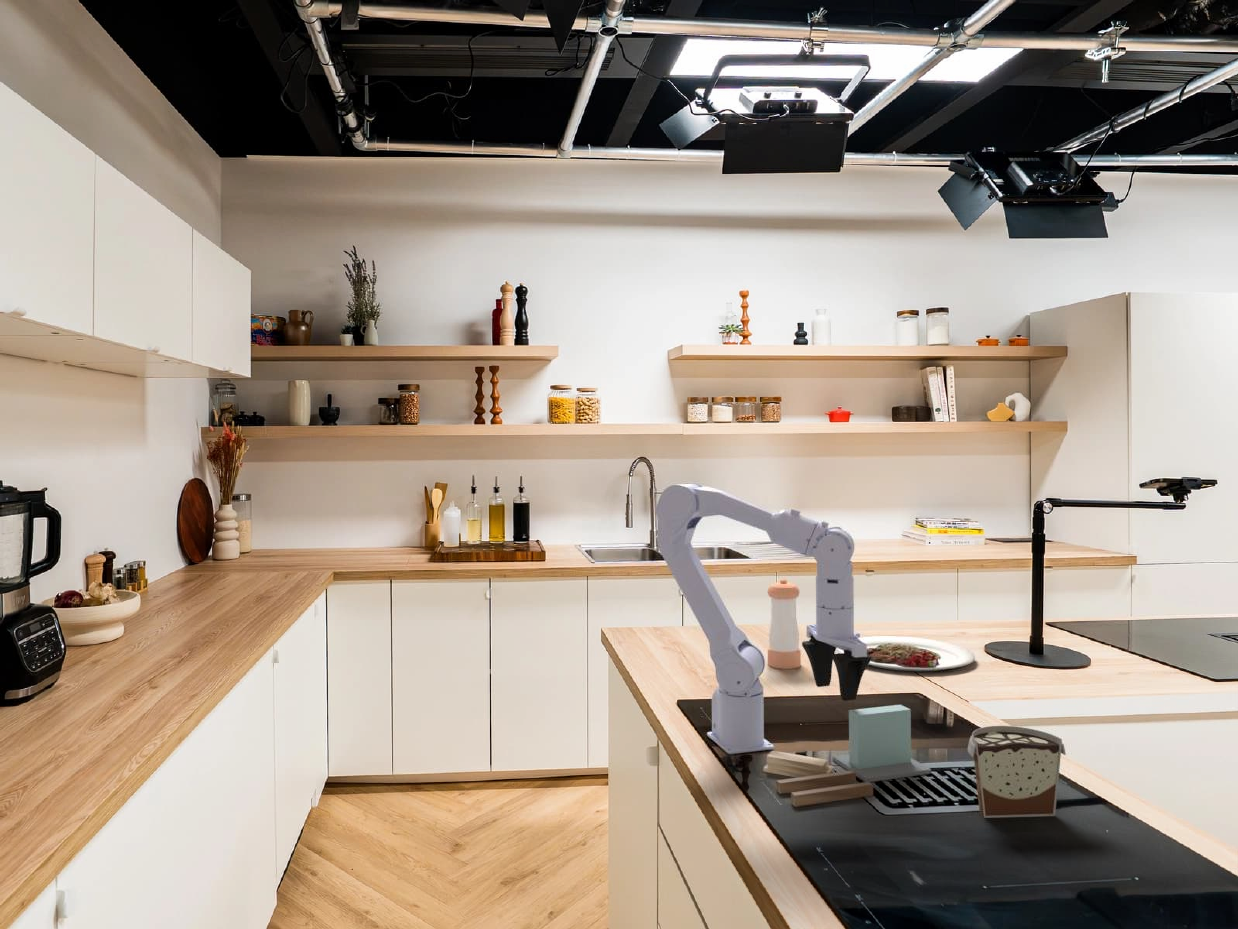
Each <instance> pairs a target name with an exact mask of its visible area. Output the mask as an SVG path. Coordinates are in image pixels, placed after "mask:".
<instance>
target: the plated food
mask: <svg viewBox="0 0 1238 929" xmlns="http://www.w3.org/2000/svg"><path fill="white" fill-rule="evenodd" d="M859 639H860V640H861V641H862V642H864V643H866V644H867V654H868V655H870V656H871V661H870V662H869V664H868V665H867V666H872V667H876V668H883V669H888V670H896V671H904V672H906V671H907V672H934V671H935V672H936V671H944V670H948V669H955V668H960V667H964V666H967V665H970V664H972V663H973V662H975V659H976V655H975V653H974V652H972V651H971V650H970V649H968V648H966V647H963V646H960V645H957V644H954V643H950V642H946V641H941V640H935V639H931V638H929V639H928V638H923V637H914V636H912V637H911V636H895V635H892V636H891V635H890V636H889V635H881V636H879V635H877V636H875V635H874V636H864V637H861V636H860V638H859ZM836 651H837V652H838V654H840V653H843V654H844V651H843V650H841V649H839V648H836Z"/></svg>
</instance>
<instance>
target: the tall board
mask: <svg viewBox="0 0 1238 929" xmlns="http://www.w3.org/2000/svg"><path fill="white" fill-rule="evenodd" d="M911 712H912V710H911V708H908V707H906V706H904V705H903V704H894V705H885V706H876V707H867V708H858V709H857V708H856V709H849V710H848V736H849V737H848V750H849V751H848V754H849V763H850V764H851V765H853V766H854V767H856V768H857V769H864V768H872V767H879V766H887V765H894V764H902V763H909V762H911V758H912V736H911V734H912V728H911V727H912V726H911V725H912V723H911V722H912V720H911V719H912V718H911V716H912V714H911Z"/></svg>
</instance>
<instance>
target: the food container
mask: <svg viewBox="0 0 1238 929" xmlns="http://www.w3.org/2000/svg"><path fill="white" fill-rule="evenodd" d="M967 752H968V754H969V755H970V757H972V758H973V761H974V762H973V763H974V771H975V780H976V781H975V782H976V790H977V800H978V806H979V807H978V809H979V812H980V815H981V816H982V817H983V819H987V818H988V819H989V818H990V819H991V818H992V819H993V818H994V819H995V818H998V819H999V818H1027V817H1028V818H1030V817H1034V818H1035V817H1055V816H1056V808H1057V797H1058V789H1059V777H1060V768H1061V767H1060V766H1061V757H1062V756H1061V755H1062V754H1063V755H1064V756H1066V755H1067V754H1066V748H1065V744H1064V743H1063V740H1062V738H1060V737H1059V736H1056V735H1054V734H1051V733H1049V732H1045V731H1041V730H1038V729H1034V728H1030V727H1029V728H1028V727H1023V726H1016V725H1015V726H1014V725H989V726H983V727H979V728H977V729H975V730H974V731H973V732H972V734H971V736H970V737H969V740H968V745H967Z"/></svg>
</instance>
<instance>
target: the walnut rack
mask: <svg viewBox="0 0 1238 929" xmlns="http://www.w3.org/2000/svg"><path fill="white" fill-rule="evenodd" d="M856 777H857V776H856V773H855V772H854V771H852V770H851V771H848V770H845V771H838V772H834V773H829V774H821V775H814V776H806V777H799V778H796V777H792V778H784V779H778V780H776V793H778V794H780V795H781V794H789V793H790V797H791V798H790V800H791V801H790V804H791V805H792V806H793V807H802V806H808V805H809V806H810V805H816V804H825V803H829V802H837V801H845V800H850V799H851V800H852V799H859V798H865V797H872V796H874V784H873V783H871V782H864V781H863V782H858V783H857V778H856Z"/></svg>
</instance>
